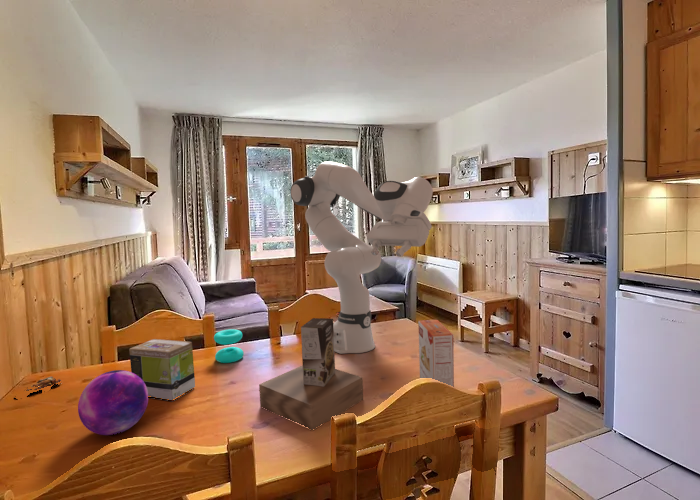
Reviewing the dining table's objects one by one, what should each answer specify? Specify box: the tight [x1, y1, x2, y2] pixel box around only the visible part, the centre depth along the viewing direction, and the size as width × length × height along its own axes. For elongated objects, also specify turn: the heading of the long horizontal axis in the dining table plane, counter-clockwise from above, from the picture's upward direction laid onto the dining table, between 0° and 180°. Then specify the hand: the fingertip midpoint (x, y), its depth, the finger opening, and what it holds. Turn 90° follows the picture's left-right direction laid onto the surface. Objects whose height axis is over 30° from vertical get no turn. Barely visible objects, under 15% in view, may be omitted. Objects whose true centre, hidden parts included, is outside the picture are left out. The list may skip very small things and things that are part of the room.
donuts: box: [213, 328, 245, 364], centre depth 147 cm, size 10×10×10 cm
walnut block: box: [258, 364, 364, 431], centre depth 112 cm, size 20×20×7 cm
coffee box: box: [300, 317, 336, 387], centre depth 111 cm, size 9×6×16 cm
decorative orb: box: [77, 369, 149, 436], centre depth 100 cm, size 15×15×15 cm
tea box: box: [128, 338, 196, 400], centre depth 121 cm, size 15×10×15 cm, turn 71°
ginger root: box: [25, 376, 62, 391], centre depth 125 cm, size 7×12×4 cm, turn 160°
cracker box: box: [417, 319, 455, 388], centre depth 110 cm, size 14×6×21 cm, turn 5°
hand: (385, 254), depth 119 cm, fingers open, 8 cm apart
